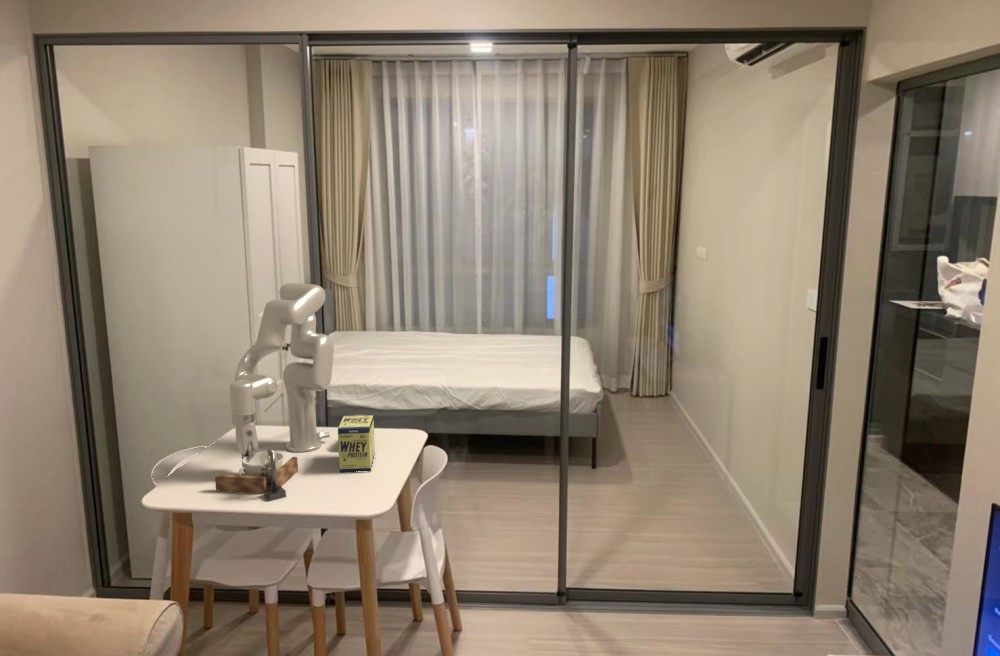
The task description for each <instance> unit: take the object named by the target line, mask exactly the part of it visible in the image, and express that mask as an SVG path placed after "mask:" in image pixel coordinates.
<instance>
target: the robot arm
mask: <svg viewBox="0 0 1000 656" xmlns="http://www.w3.org/2000/svg"><path fill="white" fill-rule="evenodd" d="M325 301H326V291H325V290H324V288H323V287H322V286H320V285H318V284H311V283H309V284H307V283H299V282H298V283H295V282H292V283H291V282H290V283H289V282H288V283H285V284H282V285H281V286H280V289H279V299H272V300H269V301H268V302H267V303H266V304H265V306H264V309H263V312H262V317H261V321H260V325H259V329H258V332H257V336H256V341H255V342H254V344H253V345H251V347H250V348H249V349H248V350H247V351H246V352H245V353H244V355H243V356H242V357H241V359H240V360H239V362H238V364H237V368H236V372H235V377H234V381H232V382H230V384H229V398H230V410H231V423H232V425H233V426H234V427H235V429H234V430H235V443H236V446H237V449H238V450H239V451H240V453H241V460H243V458H244V457H246V456H248V459H250V458H253V454H254V452H255V453H258V452H259V451H260V450H259V442H258V435H257V434H258V433H257V429H256V424H255V423H257V409H256V407H257V405H256V401H257V400H262V399H268V398H271V397H273V395H274V394H275V393H276V392H277V389H278V382H277V380H276V379H275V378H274V377H272V376H269V375H264V374H257V373H254V371H255V369H256V366H257V365H258V363H259V362H260V361H261V360H262V359H264V358H265V357H267V356H269V355H271V354H273V353H275V352H278V351H279V350H281V349H282V347H283V343H284V340H285V335H286V331H287V328H288V326H291V329H290V330H291V332H290V333H291V334H290V341H289V342H290V343H289V349H290V350H289V352H290V355H292V356H293V357H295V358H297V359H306V360H310V361H312V363H310V362H303V361H294V362H290V363H288V364H286V366H285V368H283V372H282V379H283V384H284V387H285V391H286V397H287V398H286V399H287V411H288V412H287V413H288V426H289V427H288V428H289V441H288V442H287V443H286V444H285V449H287V451H288V452H293V453H304V452H311V451H314V450H316V449H319V448H320V447H321V446H322V439H328V438H330V436H331V435H330V432H329V431H328V432H324V431H320V432H318V431H317V417H316V416H317V415H316V400H315V395H314V393H313V391H314V392H324V391H325V390H327V389H328V388H329V386H330V385H331V382H332V381H331V380H332V375H333V364H334V363H333V361H334V347H335V346H334V343H333V340H332V338H331V337H330V336H329V335H328V334H325V333H317V316H316V314H315V313H317V312H318V311H319V310H320V309H321V307H322V306H323V305H324V304H325ZM253 451H254V452H253ZM241 465H242V466H241V468H242V467H243V464H242V463H241ZM242 472H243V473H245V471H244V470H243V471H242Z"/></svg>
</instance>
